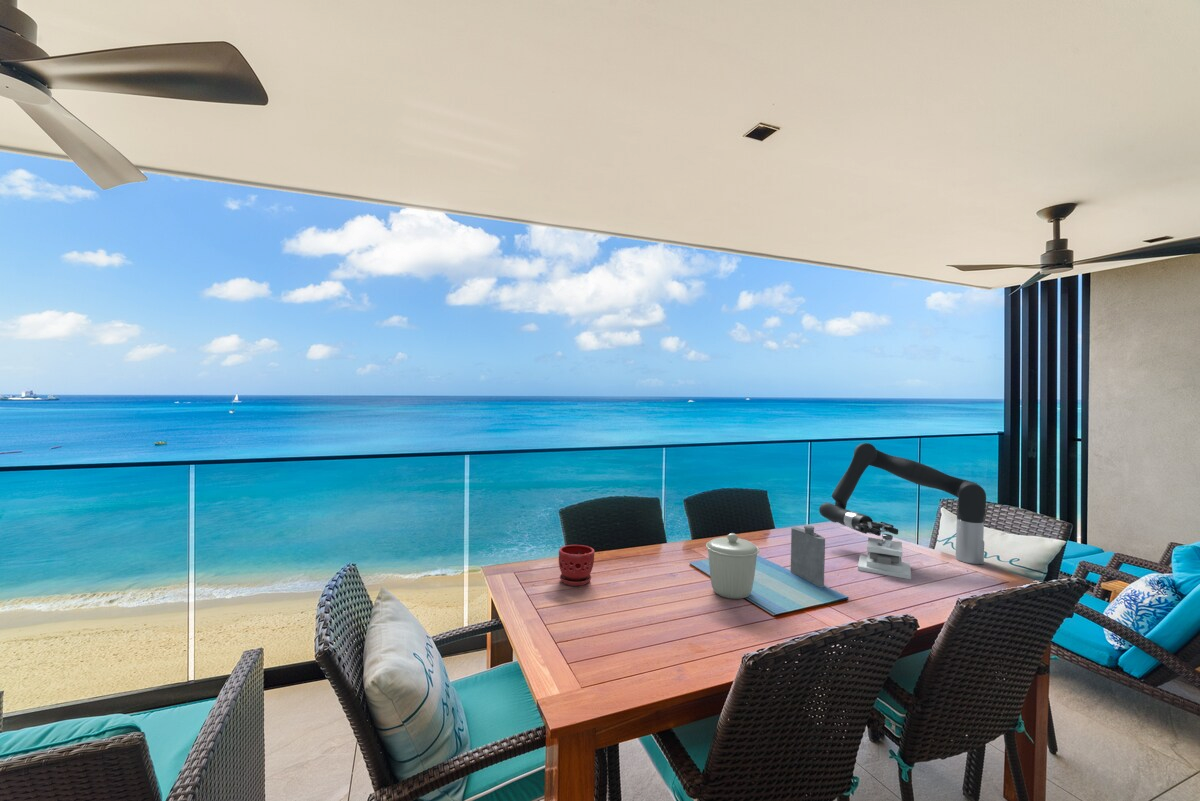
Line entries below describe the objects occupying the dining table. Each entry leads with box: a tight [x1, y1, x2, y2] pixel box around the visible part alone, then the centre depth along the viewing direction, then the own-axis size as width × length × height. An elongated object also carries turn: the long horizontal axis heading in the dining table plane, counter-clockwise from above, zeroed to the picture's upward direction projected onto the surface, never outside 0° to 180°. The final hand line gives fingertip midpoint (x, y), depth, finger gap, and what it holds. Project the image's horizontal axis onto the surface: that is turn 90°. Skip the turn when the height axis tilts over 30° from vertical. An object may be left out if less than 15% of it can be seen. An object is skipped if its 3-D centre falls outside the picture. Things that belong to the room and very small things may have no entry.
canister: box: [705, 532, 760, 600], centre depth 172 cm, size 18×18×21 cm
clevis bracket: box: [857, 537, 912, 580], centre depth 198 cm, size 18×17×10 cm
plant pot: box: [558, 544, 595, 587], centre depth 182 cm, size 13×13×12 cm
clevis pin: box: [881, 533, 894, 547], centre depth 198 cm, size 4×4×12 cm
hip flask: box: [789, 524, 826, 588], centre depth 187 cm, size 16×4×20 cm, turn 20°
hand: (888, 532), depth 196 cm, fingers open, 8 cm apart
